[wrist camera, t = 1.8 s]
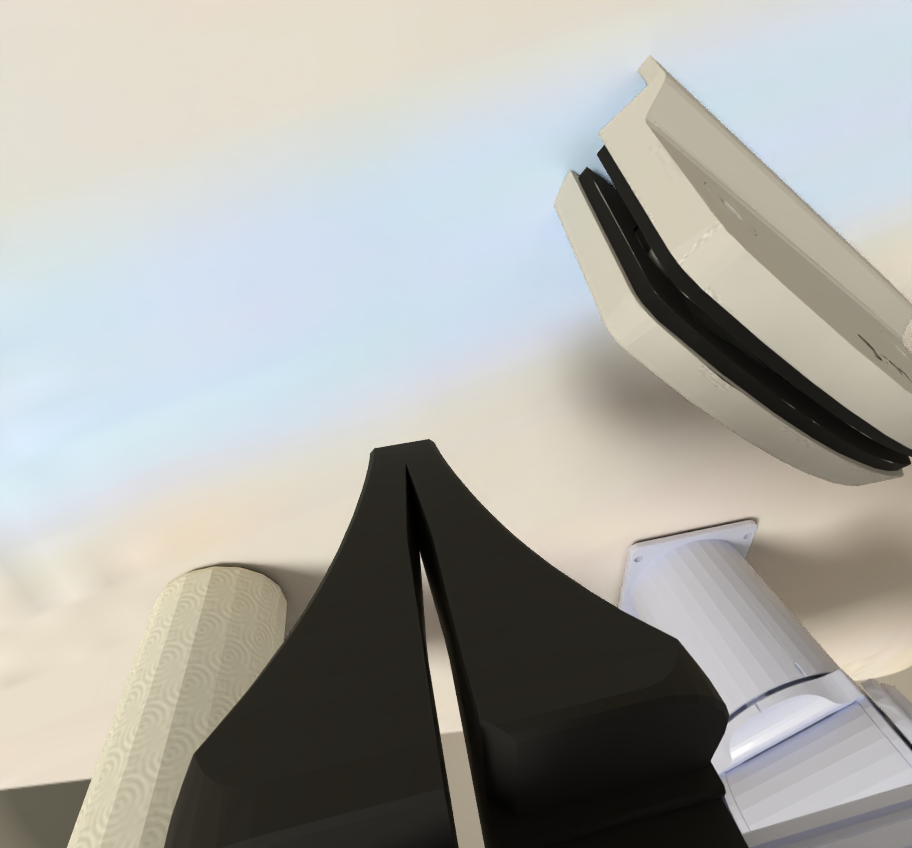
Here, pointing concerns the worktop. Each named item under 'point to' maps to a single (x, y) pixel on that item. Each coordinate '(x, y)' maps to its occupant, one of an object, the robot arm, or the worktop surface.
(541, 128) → the worktop surface
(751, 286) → the beige piece
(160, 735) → the paper towel roll
